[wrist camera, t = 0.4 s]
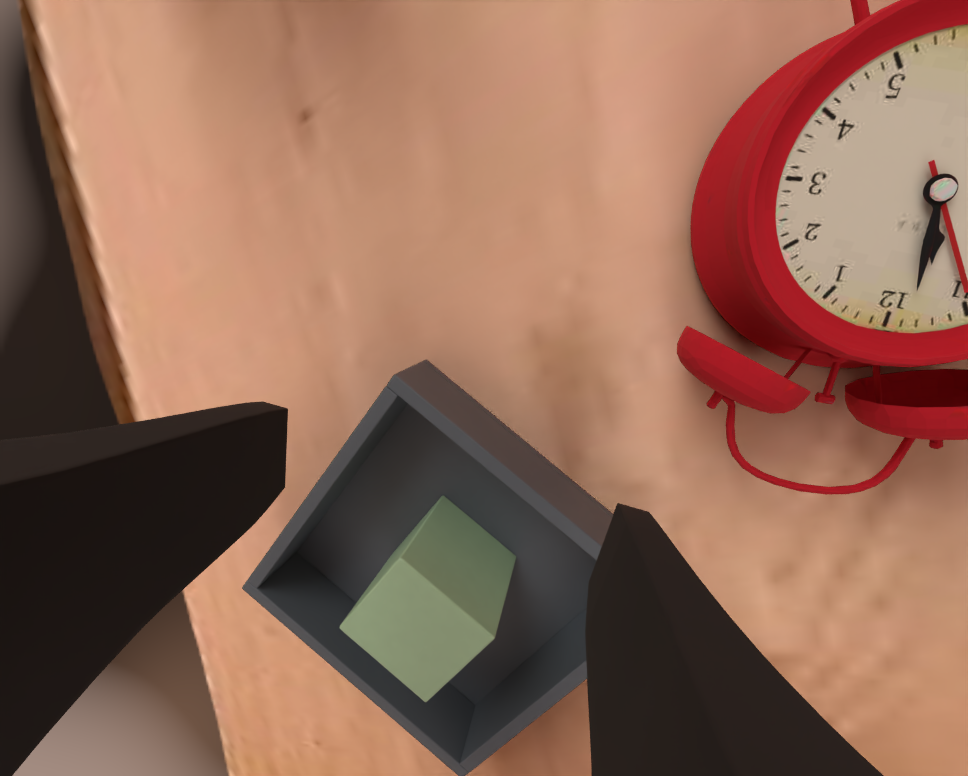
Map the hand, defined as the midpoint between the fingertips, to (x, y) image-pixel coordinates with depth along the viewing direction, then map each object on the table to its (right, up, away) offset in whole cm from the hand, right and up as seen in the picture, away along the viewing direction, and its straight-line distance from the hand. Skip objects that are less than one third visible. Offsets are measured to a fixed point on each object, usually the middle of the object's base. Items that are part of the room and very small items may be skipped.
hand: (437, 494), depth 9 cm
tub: (0, -6, +12) cm, 13 cm away
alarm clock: (+13, +7, +6) cm, 16 cm away
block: (-1, -6, +12) cm, 13 cm away
